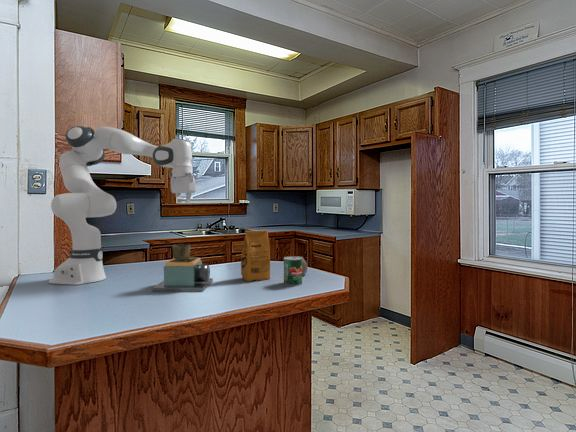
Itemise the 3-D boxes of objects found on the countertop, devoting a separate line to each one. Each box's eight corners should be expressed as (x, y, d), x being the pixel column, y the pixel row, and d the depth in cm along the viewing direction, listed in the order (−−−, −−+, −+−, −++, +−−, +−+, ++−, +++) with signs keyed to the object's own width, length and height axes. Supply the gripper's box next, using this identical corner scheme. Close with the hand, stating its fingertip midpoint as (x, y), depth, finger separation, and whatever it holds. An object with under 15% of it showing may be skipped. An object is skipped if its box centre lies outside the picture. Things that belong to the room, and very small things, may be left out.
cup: (194, 262, 150) (194, 243, 149) (184, 265, 143) (184, 246, 142) (179, 261, 152) (178, 242, 151) (168, 265, 145) (168, 245, 144)
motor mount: (152, 291, 140) (151, 263, 140) (167, 281, 156) (166, 256, 156) (202, 291, 140) (202, 263, 139) (212, 281, 156) (212, 256, 155)
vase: (309, 274, 169) (309, 255, 169) (305, 277, 163) (305, 258, 162) (295, 273, 172) (295, 255, 171) (290, 276, 165) (290, 257, 165)
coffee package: (239, 277, 163) (238, 229, 162) (265, 275, 168) (264, 228, 167) (245, 282, 154) (244, 231, 153) (272, 279, 159) (271, 230, 157)
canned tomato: (296, 286, 146) (296, 260, 145) (280, 284, 150) (279, 258, 150) (305, 282, 153) (305, 257, 152) (290, 280, 157) (289, 255, 156)
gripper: (198, 172, 162) (199, 202, 163) (180, 174, 178) (181, 202, 179) (185, 171, 158) (186, 203, 159) (168, 174, 174) (168, 202, 175)
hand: (183, 202), depth 169 cm, fingers open, 8 cm apart
